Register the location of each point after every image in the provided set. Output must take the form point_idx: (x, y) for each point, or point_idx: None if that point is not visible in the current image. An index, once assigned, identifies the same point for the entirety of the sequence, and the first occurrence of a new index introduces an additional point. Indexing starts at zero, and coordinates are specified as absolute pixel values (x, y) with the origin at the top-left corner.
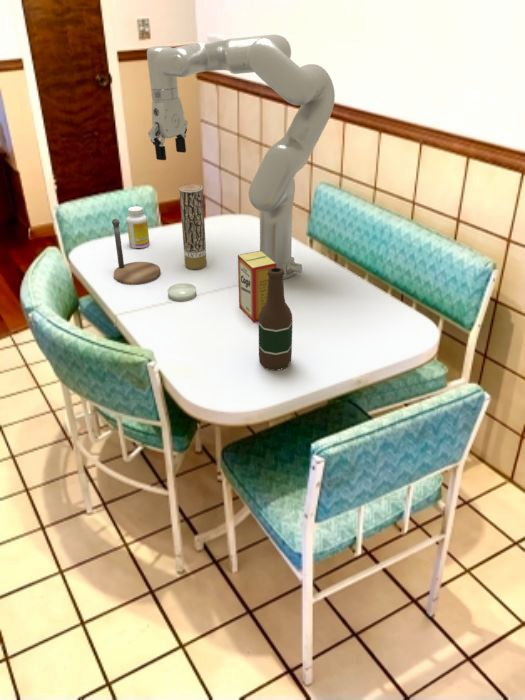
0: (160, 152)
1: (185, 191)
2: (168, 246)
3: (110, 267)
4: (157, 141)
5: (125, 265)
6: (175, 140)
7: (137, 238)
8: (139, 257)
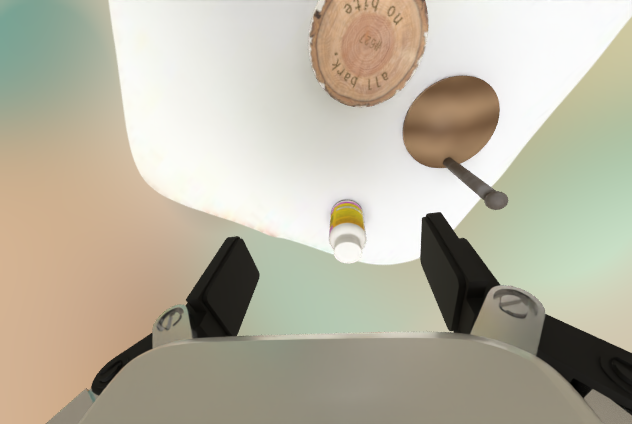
0: (480, 260)
1: (425, 18)
2: (319, 177)
3: (441, 184)
4: (590, 353)
5: (438, 162)
6: (239, 328)
7: (360, 213)
8: (383, 179)
